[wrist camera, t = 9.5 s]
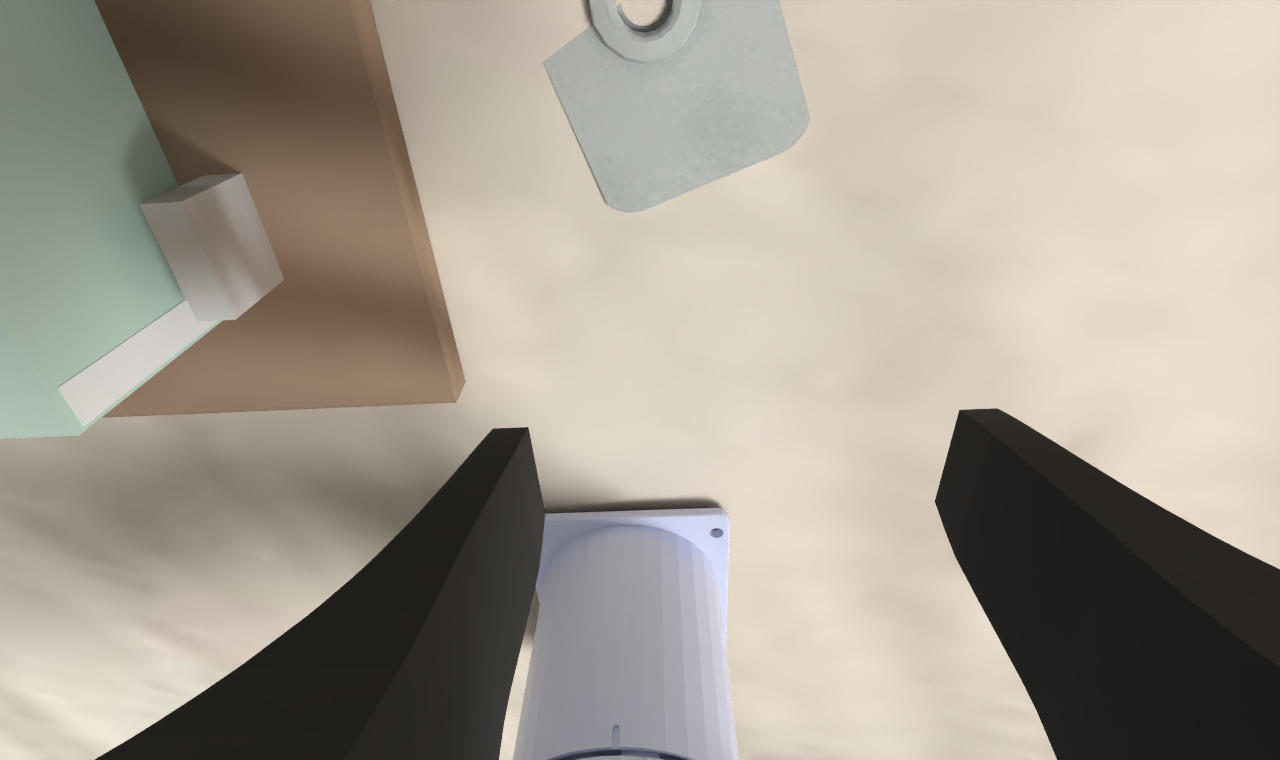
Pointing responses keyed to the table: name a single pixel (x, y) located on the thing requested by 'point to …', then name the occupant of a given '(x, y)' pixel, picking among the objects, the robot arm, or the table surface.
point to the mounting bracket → (679, 96)
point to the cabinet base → (285, 209)
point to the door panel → (77, 226)
